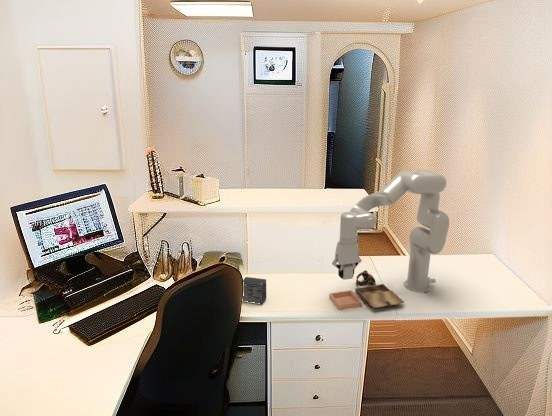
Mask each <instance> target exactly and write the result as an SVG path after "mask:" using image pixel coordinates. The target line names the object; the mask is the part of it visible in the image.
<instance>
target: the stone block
mask: <svg viewBox="0 0 552 416" xmlns="http://www.w3.org/2000/svg"><path fill="white" fill-rule="evenodd" d="M342 270H343V279H342V280H343V281H345V280H353V278H354V275H353V266H352V265H351V264H345V265H344V266H343V269H342Z"/></svg>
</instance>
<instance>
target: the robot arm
mask: <svg viewBox="0 0 552 416" xmlns="http://www.w3.org/2000/svg"><path fill="white" fill-rule="evenodd" d="M446 187H447V180H446V177H445V176H443V175H442V174H439V173H436V172H434V171H430V170H427V169H421V168H419V169H417V170H415V171H414V172H412V171H410V170H402V171H399V172H398V173H397V174H396V175H395V176H393V178H392V179H391V180H389V182H387V183H386V184H385V185H384V186H383V187H382V188H381V189H380V190H378V191H376V192H373V193H371V194H369V195H366V196H364V197H362V198H361V199H360V200H359V201H357V203H355V205H353V207H352V208H351V209H350V211H345V212H343V213H341V215H340V225H339V226H340V227H339V241H337V244H336V248H335V251H334V259H333V261H332V262H331V265H332V266H334V267H336V268H337V269H338V274H337V276H338V277H340V279H342V280H343V270H342V269H343V266H344V265H345V264H351V265H352V266H353V276H354V275H355V269H356V268H357V266H359V264H360V263H361V262H363V260H362V259H361V258H360V257H361V256H360V253H359V252H360V249H359V248H360V247H359V243H358V240H359V239H360V236H359V235H358V230H371V229H373V228H375V227H376V225H377V223H378V220H377V217H376V215H374V214H373V213H371V212H370V211H371V210H372V209H376V208H377V207H384V206H385V207H386V206H392V205H394V204H396V203H397V201H398V200H400V198H401V197H403V195H405V193H407V192H409V193H412V194H416V195H420V199H419V204H418V209H417V215H416V220H417V223H419V224H420V225H422V226H415V227H413V228H412V230H410V233H409V236H408V238H409V239H408V241H409V257H408V268H407V270H408V271H407V279H406V280H405V281H404V282H403V287H404V288H405V289H406V290H408V291H411V292H415V293H424V294H425V293H427V292H429V291H430V290H431V286H430V284H433V283H434V284H435V283H436V279H435V278H431V277H429V271H430V261H431V254H432V255H436V254H439V253H441V252H442V251H443V249H444V247H445V244H446V241H447V236H448V231H449V228H450V218H449V215H448V214H447V213H445V212H444V211H442V210H439V206H440V205H439V204H440V200H441V199H440V198H441V195H440V194H441V192H443V191H444V190H445V189H446Z"/></svg>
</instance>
